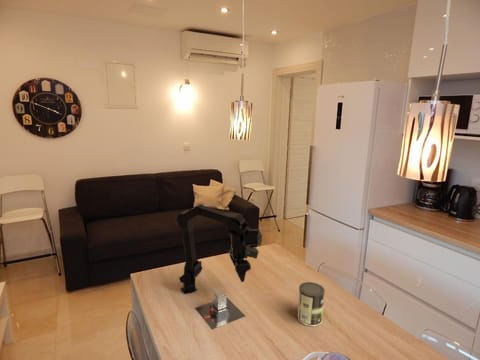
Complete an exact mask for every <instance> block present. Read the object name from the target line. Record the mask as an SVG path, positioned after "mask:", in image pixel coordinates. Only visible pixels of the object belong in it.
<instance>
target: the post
mask: <svg viewBox="0 0 480 360" xmlns="http://www.w3.org/2000/svg"><path fill="white" fill-rule="evenodd" d="M226 297H227V293H226V292H225V291H224V289H219V290H216V291H213V302H214V308H215V309H216V310H217V312H218V311H221V310H224V309H226Z"/></svg>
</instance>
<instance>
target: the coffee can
mask: <svg viewBox="0 0 480 360" xmlns="http://www.w3.org/2000/svg"><path fill="white" fill-rule="evenodd" d="M298 290H299V291H298V305H297V306H298V307H297V319H298V321H299V323H301V324H302V325H305V326H307V327H313V328H314V327H319V326H320V325H321V324H322V322H323V309H324V298H325V292H326V291H325V288H324V286H322V285H321V284H320V283H316V282H313V281H312V282H311V281H306V282H303V283H301V284H300V285H299V287H298Z"/></svg>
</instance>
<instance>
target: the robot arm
mask: <svg viewBox="0 0 480 360" xmlns="http://www.w3.org/2000/svg"><path fill="white" fill-rule="evenodd" d="M197 216H201V217H203V218H206V219H208V220H209V219H210V220H212V221H215V222H218V223H221V224H223V225H224V226H225V227H226V228H228V229H227V231H226V232H225V234H226V235H230V241H231V244H230V249H228V255H229V258H230V260H231V262H232V264H233V266H234V270H235V273H236V274H237V276H238V279H240V282H241V283H244V282H245V279H246V275H247V272H248V271H251V270H252V266H251V263H250V261H249V260H247V259H249V258H254V259H258V256H259V252H260V251H259V250H258V249H257V248H256V247H255V246H258V247H259V246H261V245H262V242H263V235H262V232H261V230H260V229H259V228H255V229H254V228H251V226H250V225H249V224H248V222H247V221H246V219H245V217H244V215H243V214H241V213H238V212H225V211H221V210H218V209H215V208H213V207H209V206H206V205H204V204H203V203H201V204H200V203H199V204H197V205H195V206H194V207H193V208H191V209H187V210H185V211H183V212H181V213H179V214H177V216H176V223H177V226H178V227H177V228H179V230H180V231H181V232H182V240H183V249H184V254H185V255H184V257H185V263H184V266H183V274H182V275H181V276H180V277H179V281H180V283H181V284H182V283H183V286H182V287H181V288H180V290H181V292H182V293H183V294H184V295H187V294H192V293H196V291H198V289H197V287H196V278H197V277H198V276H199V275H200V274H201V272H202V271H203V267H202V264H203V263H202V261H201V260H199V259H198V258H197V253H196V244H195V237H194V226H195V221H196V217H197Z"/></svg>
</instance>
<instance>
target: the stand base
mask: <svg viewBox="0 0 480 360" xmlns="http://www.w3.org/2000/svg"><path fill="white" fill-rule="evenodd" d="M194 309H195V310H196V312H197V313H198V314H199V315H200V317H201V318H202V319H203V321H204V322H205V323H206V324H207V326H208V327H209V328H210V329H211V330H215V329H218V328H220V327H223V326H225V325H227V324H230V323H233V322H235V321H237V320H240V319H243V318H245V317H246V315H245V314H244V313H243V312H242V311H241V309H239V307H237V305H235V304H234V303H233V301H231V299H229V297H227V296H226V309H224V310H221V311H218V312H217V310H216V309H215V308H214V301H211V302H208V303H206V304H203V305H199V306H196V307H194Z"/></svg>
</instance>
